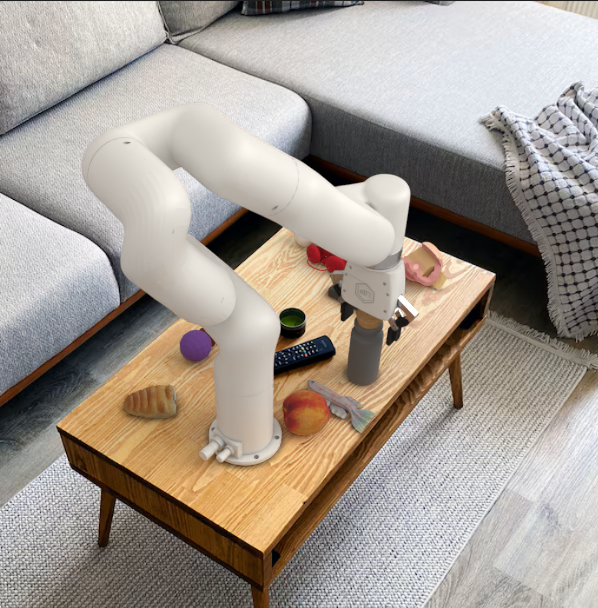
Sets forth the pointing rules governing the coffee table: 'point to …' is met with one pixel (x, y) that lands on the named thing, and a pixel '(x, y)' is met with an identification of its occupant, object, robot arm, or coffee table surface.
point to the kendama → (196, 345)
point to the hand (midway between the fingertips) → (369, 329)
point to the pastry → (152, 402)
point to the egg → (302, 241)
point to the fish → (342, 405)
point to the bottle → (365, 349)
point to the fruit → (305, 412)
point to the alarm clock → (325, 259)
